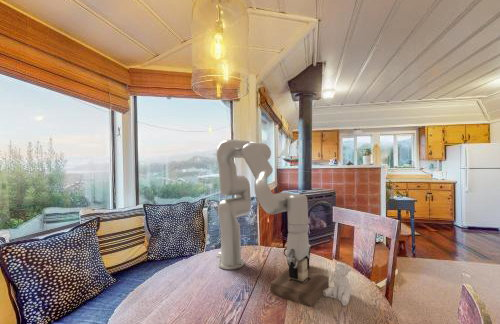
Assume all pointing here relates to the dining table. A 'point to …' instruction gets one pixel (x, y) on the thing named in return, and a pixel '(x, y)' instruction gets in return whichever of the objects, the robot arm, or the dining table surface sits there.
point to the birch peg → (301, 272)
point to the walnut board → (300, 288)
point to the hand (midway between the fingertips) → (299, 273)
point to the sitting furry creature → (340, 285)
